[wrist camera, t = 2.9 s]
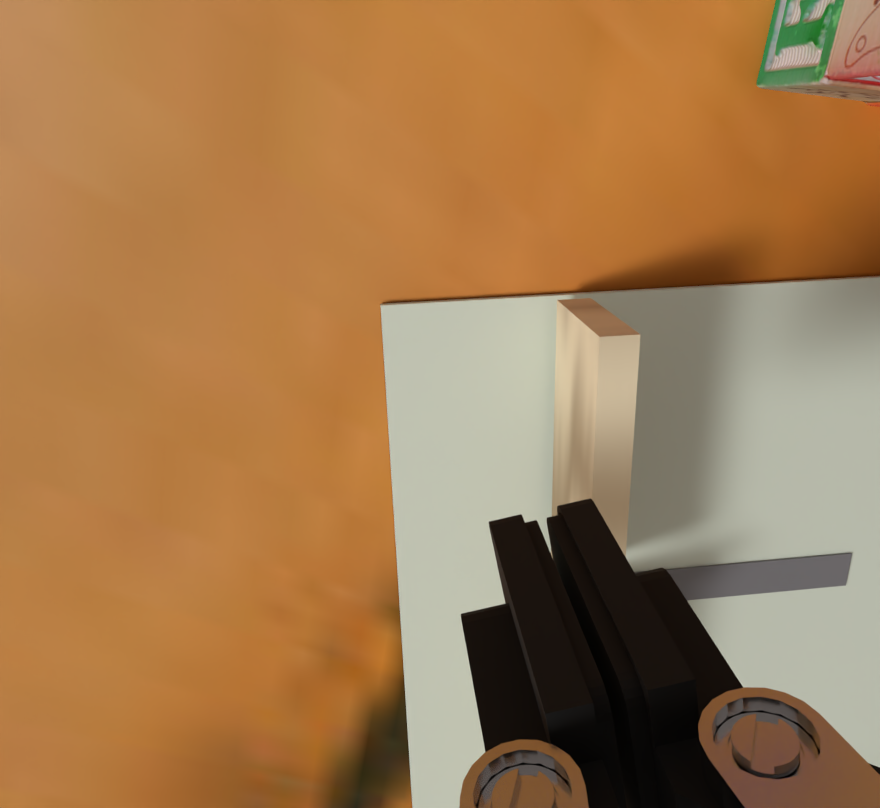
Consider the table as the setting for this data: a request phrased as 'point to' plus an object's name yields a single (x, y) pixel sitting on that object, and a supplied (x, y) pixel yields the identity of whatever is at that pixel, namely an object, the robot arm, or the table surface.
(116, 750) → the table surface
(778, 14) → the stack of blocks
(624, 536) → the panel
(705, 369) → the card
